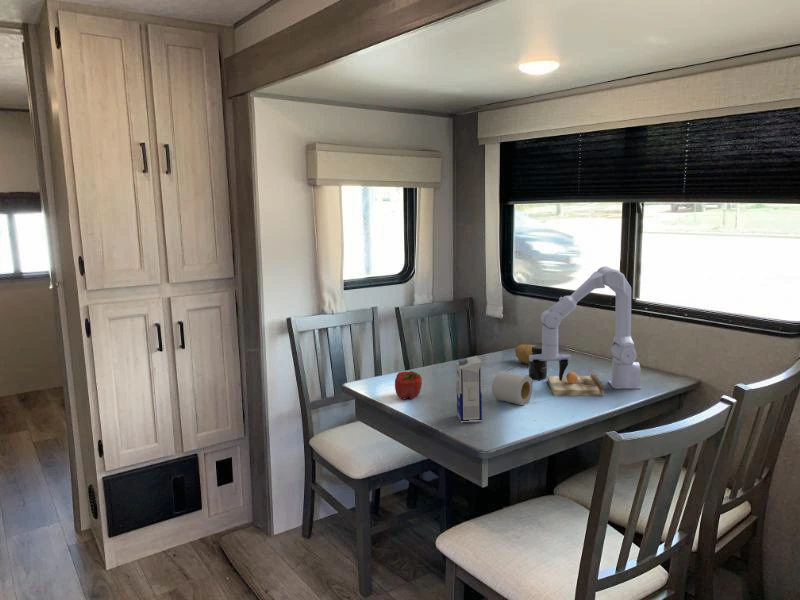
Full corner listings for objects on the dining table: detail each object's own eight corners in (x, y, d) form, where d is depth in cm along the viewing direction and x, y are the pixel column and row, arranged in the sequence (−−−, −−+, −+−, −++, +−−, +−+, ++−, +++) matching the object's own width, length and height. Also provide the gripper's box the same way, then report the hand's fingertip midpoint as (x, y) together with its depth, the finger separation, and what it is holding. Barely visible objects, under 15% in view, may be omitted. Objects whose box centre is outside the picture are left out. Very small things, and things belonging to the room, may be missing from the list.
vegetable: (430, 397, 211) (429, 370, 209) (410, 404, 203) (409, 377, 202) (408, 390, 218) (407, 364, 216) (388, 397, 211) (387, 371, 209)
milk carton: (482, 422, 186) (481, 361, 182) (460, 423, 185) (459, 362, 182) (477, 414, 193) (476, 355, 189) (456, 415, 192) (455, 356, 189)
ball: (576, 381, 216) (576, 370, 215) (578, 384, 212) (578, 373, 211) (565, 381, 216) (565, 370, 216) (567, 384, 212) (567, 373, 212)
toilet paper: (532, 400, 204) (532, 372, 202) (518, 409, 196) (518, 380, 194) (506, 394, 210) (506, 367, 208) (492, 402, 203) (491, 375, 201)
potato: (524, 358, 254) (524, 340, 253) (550, 365, 243) (551, 346, 242) (509, 362, 249) (509, 344, 247) (535, 369, 238) (535, 350, 236)
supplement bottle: (547, 380, 224) (547, 349, 222) (528, 379, 226) (529, 349, 224) (546, 374, 231) (546, 345, 229) (528, 374, 232) (528, 344, 230)
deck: (595, 381, 221) (595, 372, 221) (605, 395, 206) (605, 386, 205) (547, 381, 223) (547, 373, 223) (554, 395, 207) (554, 386, 207)
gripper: (568, 340, 216) (568, 376, 218) (528, 341, 217) (528, 376, 219) (572, 345, 209) (571, 382, 211) (530, 346, 210) (530, 382, 213)
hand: (549, 379), depth 215 cm, fingers open, 7 cm apart
